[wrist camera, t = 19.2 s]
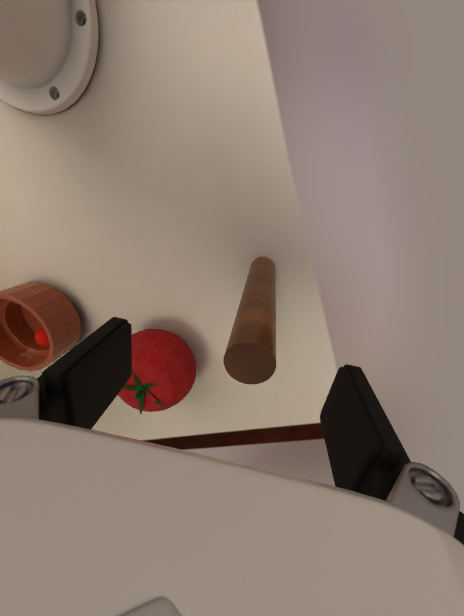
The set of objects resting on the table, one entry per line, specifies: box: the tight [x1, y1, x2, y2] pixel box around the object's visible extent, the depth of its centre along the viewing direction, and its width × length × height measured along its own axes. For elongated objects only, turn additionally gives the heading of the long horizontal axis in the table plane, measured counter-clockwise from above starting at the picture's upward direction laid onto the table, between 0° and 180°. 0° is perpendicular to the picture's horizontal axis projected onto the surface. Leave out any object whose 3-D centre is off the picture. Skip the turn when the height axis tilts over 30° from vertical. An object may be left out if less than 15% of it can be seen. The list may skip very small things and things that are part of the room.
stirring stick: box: [224, 257, 276, 384], centre depth 18 cm, size 2×2×15 cm
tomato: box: [118, 329, 196, 414], centre depth 27 cm, size 9×9×8 cm
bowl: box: [0, 282, 81, 371], centre depth 29 cm, size 9×9×5 cm
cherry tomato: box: [35, 327, 50, 347], centre depth 30 cm, size 2×2×2 cm
